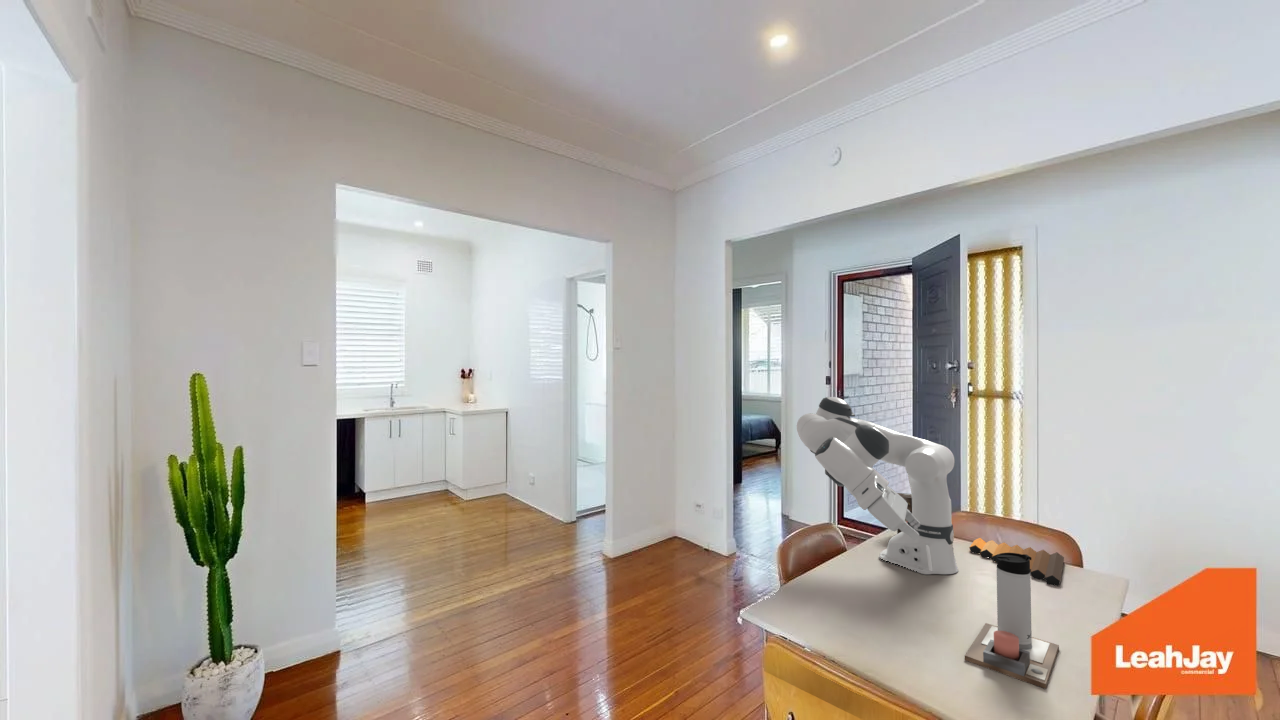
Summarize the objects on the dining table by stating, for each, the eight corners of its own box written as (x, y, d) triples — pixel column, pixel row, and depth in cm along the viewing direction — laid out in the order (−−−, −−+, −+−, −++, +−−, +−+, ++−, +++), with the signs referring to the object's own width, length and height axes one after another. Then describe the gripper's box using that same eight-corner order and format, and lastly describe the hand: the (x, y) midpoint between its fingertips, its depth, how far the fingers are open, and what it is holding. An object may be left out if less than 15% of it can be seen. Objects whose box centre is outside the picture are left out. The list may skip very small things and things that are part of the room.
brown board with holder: (964, 660, 110) (964, 645, 110) (985, 626, 124) (985, 613, 124) (1045, 689, 100) (1045, 672, 100) (1058, 649, 114) (1058, 635, 114)
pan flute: (1060, 588, 146) (1064, 563, 165) (1060, 576, 146) (1064, 553, 165) (960, 566, 163) (974, 545, 181) (960, 555, 163) (974, 536, 181)
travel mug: (1039, 651, 111) (1037, 561, 111) (1006, 648, 112) (1004, 558, 112) (1024, 636, 117) (1022, 550, 117) (992, 633, 118) (991, 549, 119)
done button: (991, 654, 107) (991, 635, 107) (996, 646, 110) (996, 628, 110) (1017, 663, 104) (1016, 643, 104) (1021, 654, 107) (1020, 635, 107)
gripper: (867, 489, 138) (910, 528, 133) (857, 507, 121) (906, 553, 115) (883, 473, 136) (928, 512, 131) (876, 489, 119) (927, 535, 113)
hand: (918, 531), depth 123 cm, fingers open, 8 cm apart
